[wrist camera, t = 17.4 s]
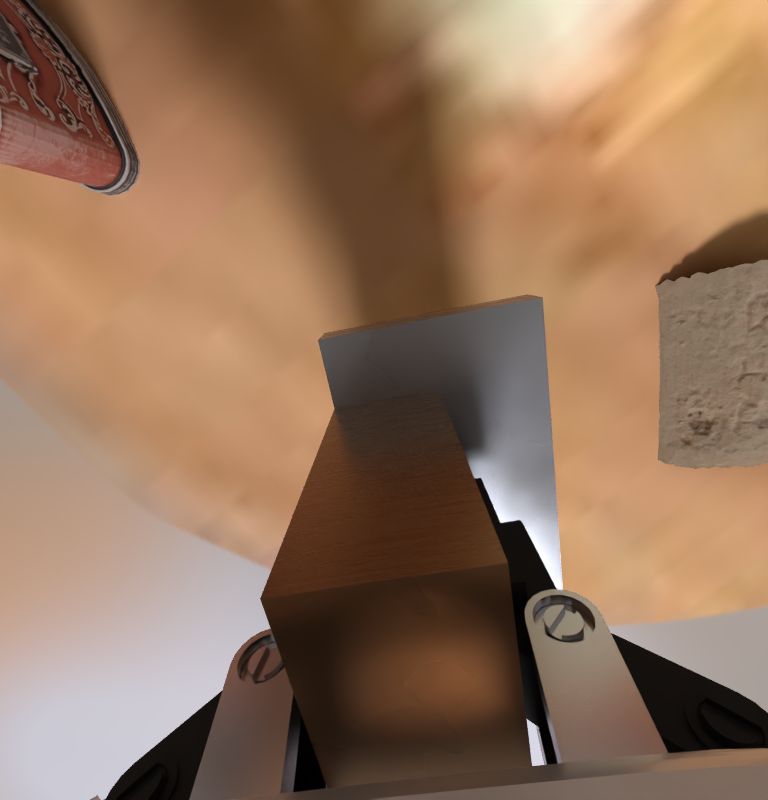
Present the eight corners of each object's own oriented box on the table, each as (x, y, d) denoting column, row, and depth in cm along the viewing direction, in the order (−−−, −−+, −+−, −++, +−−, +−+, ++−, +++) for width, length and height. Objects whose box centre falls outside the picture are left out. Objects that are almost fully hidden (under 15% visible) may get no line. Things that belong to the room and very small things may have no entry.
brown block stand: (324, 333, 12) (208, 451, 4) (527, 294, 12) (799, 348, 4) (396, 638, 16) (402, 1001, 8) (553, 617, 15) (722, 979, 8)
